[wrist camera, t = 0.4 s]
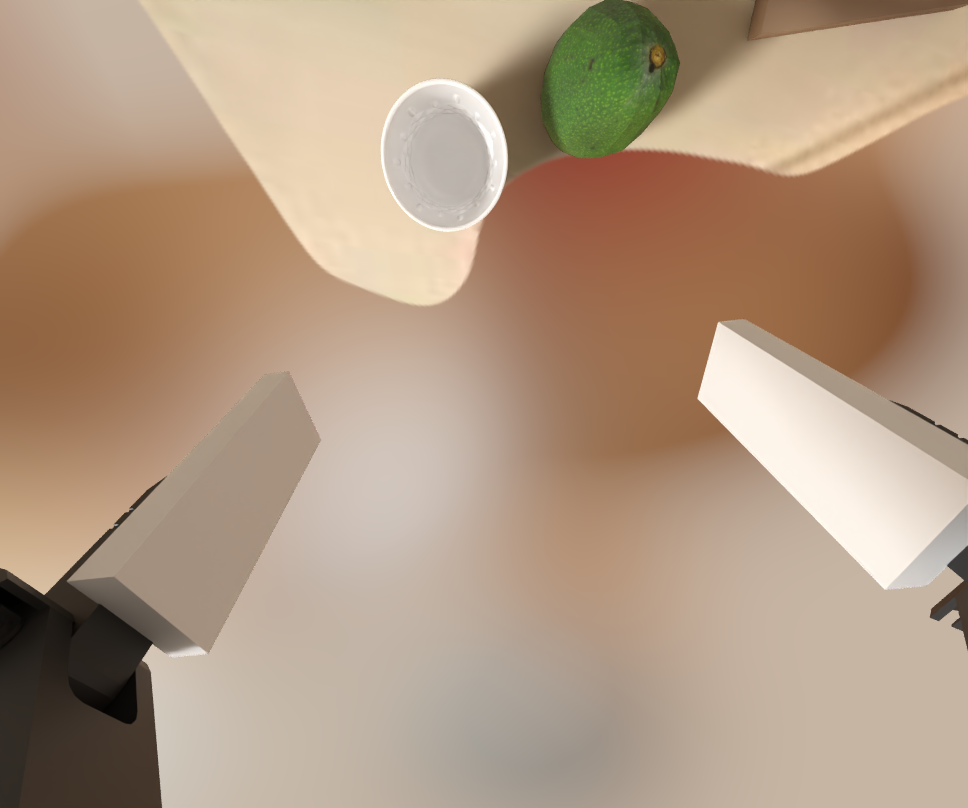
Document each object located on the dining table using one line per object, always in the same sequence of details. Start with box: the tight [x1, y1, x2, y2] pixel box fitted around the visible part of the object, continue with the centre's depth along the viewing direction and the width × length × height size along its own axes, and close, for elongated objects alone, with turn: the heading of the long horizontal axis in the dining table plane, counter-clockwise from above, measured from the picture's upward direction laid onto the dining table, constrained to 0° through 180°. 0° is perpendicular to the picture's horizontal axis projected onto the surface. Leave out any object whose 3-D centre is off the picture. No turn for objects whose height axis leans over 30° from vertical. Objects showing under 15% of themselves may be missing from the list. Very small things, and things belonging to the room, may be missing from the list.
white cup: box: [381, 78, 508, 231], centre depth 27 cm, size 8×8×10 cm
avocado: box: [541, 0, 680, 158], centre depth 24 cm, size 8×8×12 cm
